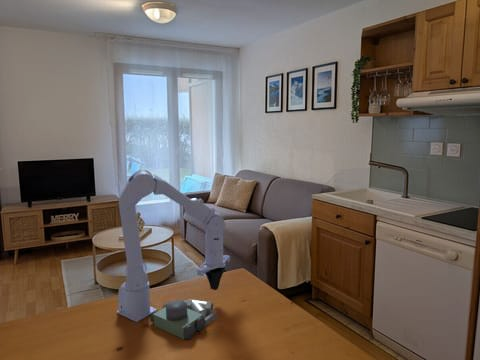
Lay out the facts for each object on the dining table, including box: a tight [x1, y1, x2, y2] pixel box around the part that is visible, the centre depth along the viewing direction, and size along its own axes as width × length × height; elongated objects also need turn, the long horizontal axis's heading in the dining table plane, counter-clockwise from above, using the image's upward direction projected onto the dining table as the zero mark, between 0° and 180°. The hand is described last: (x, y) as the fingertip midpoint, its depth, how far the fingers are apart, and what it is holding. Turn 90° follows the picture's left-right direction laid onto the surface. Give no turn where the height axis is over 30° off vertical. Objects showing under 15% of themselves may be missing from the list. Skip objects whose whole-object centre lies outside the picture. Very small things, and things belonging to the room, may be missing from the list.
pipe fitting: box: [186, 298, 215, 318], centre depth 109 cm, size 8×4×7 cm
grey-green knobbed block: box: [149, 299, 218, 340], centre depth 105 cm, size 14×14×6 cm
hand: (214, 288), depth 116 cm, fingers closed
